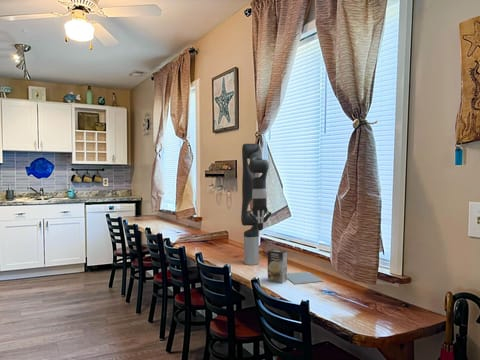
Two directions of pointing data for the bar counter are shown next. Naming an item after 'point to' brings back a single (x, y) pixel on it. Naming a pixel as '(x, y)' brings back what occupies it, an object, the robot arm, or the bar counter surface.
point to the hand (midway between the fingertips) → (260, 230)
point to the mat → (302, 278)
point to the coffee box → (277, 265)
